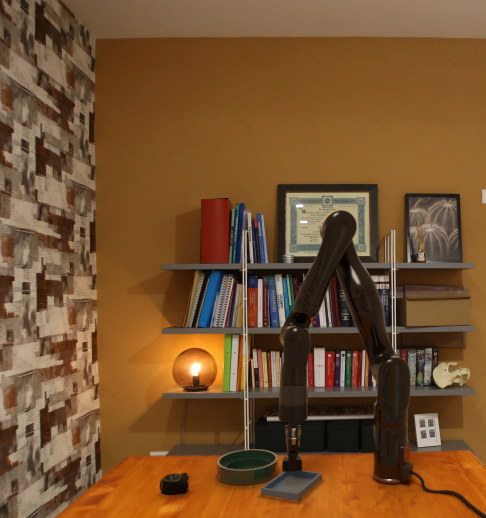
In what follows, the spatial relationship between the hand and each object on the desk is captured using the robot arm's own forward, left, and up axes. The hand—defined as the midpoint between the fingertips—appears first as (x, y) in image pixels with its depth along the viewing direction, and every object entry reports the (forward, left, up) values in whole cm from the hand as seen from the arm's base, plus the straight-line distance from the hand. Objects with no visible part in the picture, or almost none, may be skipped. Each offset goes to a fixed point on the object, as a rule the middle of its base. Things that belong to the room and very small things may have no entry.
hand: (292, 468), depth 127 cm
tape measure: (+26, +12, -5) cm, 29 cm away
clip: (0, 0, 0) cm, 0 cm away
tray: (0, 0, -5) cm, 5 cm away
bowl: (+15, -3, -5) cm, 16 cm away
